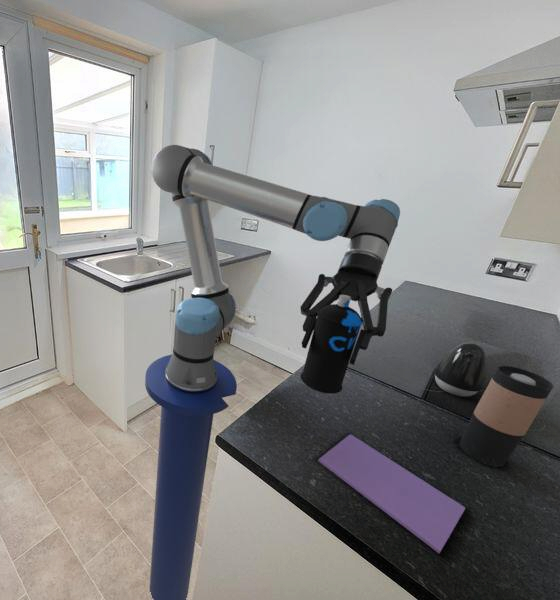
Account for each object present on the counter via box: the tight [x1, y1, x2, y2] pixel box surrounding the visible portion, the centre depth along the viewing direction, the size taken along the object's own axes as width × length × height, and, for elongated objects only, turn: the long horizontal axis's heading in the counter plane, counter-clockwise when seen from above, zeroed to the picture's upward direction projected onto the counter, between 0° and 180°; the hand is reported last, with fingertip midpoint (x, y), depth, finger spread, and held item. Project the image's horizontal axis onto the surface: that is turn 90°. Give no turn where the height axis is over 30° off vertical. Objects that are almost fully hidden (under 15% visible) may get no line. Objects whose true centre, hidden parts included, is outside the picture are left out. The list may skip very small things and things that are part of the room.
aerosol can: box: [300, 295, 363, 395], centre depth 64 cm, size 8×8×20 cm
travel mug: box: [459, 365, 554, 468], centre depth 64 cm, size 8×8×20 cm
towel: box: [318, 434, 466, 554], centre depth 59 cm, size 20×13×1 cm, turn 34°
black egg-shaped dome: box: [433, 342, 488, 398], centre depth 86 cm, size 10×10×15 cm
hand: (327, 353), depth 62 cm, fingers closed on aerosol can, 8 cm apart
